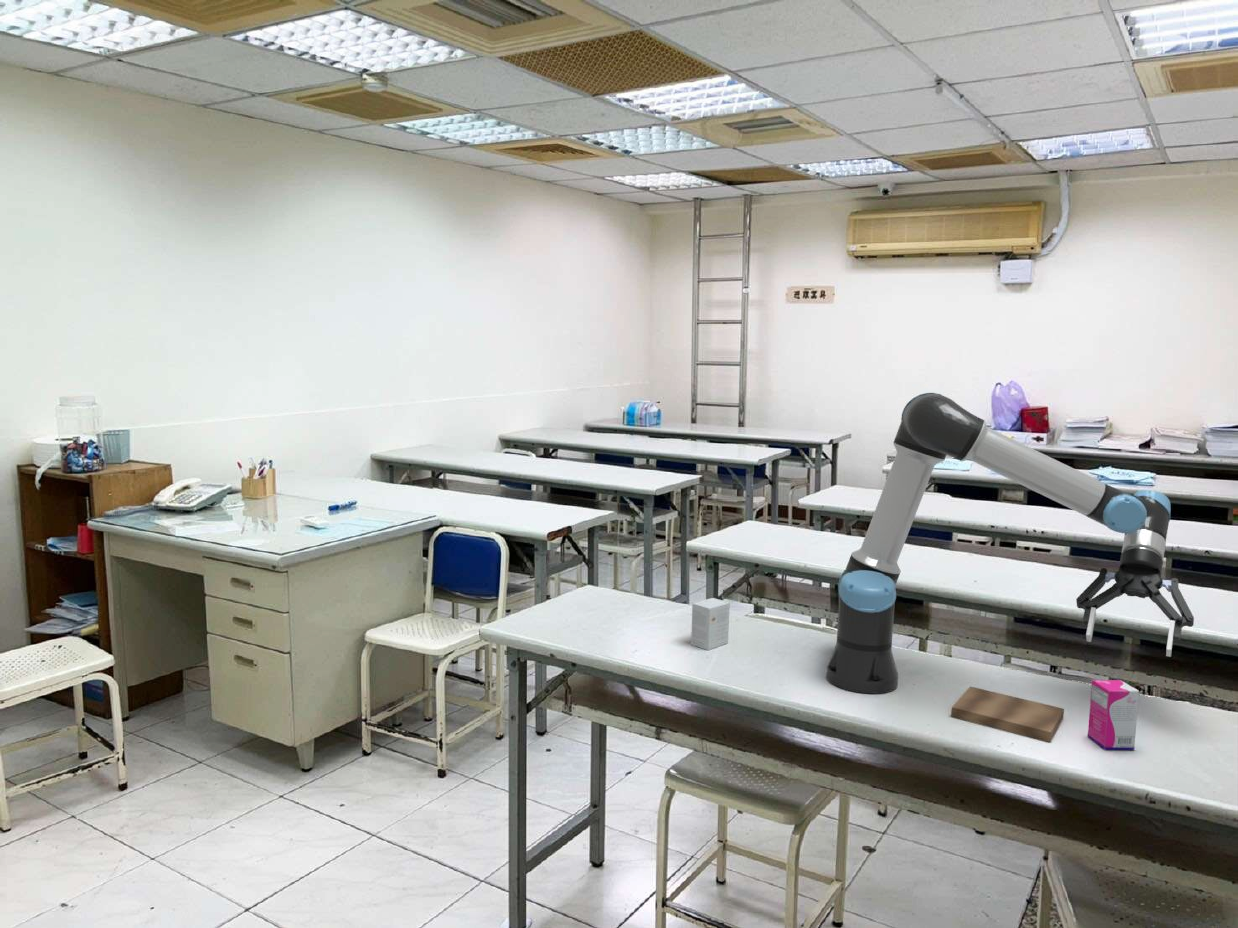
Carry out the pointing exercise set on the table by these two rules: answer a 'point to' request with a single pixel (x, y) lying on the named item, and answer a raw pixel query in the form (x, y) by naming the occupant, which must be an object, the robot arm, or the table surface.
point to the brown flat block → (1008, 713)
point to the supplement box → (1113, 714)
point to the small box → (710, 623)
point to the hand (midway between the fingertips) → (1127, 645)
